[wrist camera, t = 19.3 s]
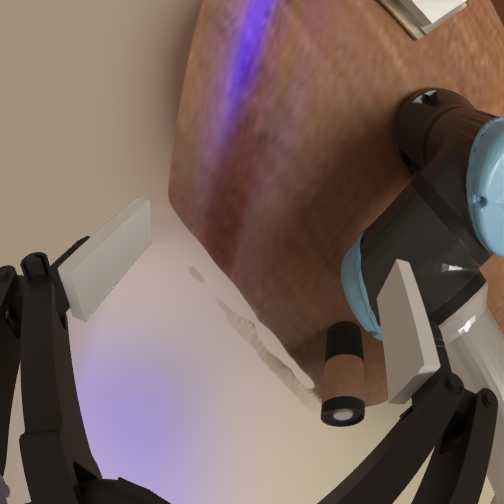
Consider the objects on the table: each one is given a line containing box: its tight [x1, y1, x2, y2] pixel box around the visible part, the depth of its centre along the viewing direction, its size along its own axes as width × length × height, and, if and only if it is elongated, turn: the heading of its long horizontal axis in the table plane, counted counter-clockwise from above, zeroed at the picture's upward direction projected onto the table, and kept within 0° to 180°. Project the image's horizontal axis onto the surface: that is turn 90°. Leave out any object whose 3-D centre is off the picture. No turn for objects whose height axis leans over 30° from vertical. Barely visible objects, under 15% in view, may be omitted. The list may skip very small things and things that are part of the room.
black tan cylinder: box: [321, 322, 365, 427], centre depth 51 cm, size 8×8×20 cm
